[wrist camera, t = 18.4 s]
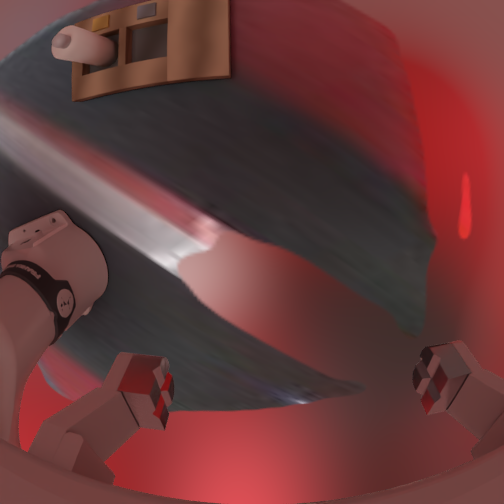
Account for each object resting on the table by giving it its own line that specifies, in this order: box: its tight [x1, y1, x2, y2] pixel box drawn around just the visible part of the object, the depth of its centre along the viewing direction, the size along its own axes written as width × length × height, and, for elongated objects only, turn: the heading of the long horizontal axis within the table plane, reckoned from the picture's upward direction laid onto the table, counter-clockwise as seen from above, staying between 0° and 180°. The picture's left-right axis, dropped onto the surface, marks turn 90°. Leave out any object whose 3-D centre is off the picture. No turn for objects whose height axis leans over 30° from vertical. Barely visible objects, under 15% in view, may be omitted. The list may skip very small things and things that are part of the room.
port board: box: [72, 0, 231, 102], centre depth 28 cm, size 21×12×3 cm, turn 91°
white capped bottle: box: [52, 25, 119, 67], centre depth 24 cm, size 4×4×12 cm
